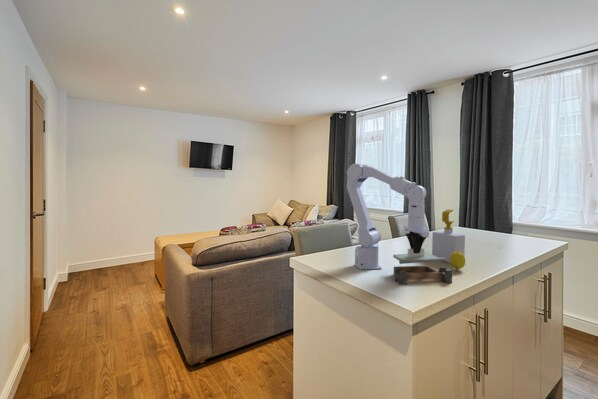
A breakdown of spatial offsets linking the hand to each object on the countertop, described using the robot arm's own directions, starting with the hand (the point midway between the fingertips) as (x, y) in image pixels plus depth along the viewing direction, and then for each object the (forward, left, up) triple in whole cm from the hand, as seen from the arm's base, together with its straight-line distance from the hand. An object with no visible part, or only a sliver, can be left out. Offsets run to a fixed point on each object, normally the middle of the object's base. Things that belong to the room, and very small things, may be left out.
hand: (415, 252), depth 107 cm
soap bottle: (+25, +19, -9) cm, 33 cm away
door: (0, 0, -3) cm, 3 cm away
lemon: (+20, +5, -9) cm, 23 cm away
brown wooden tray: (-1, -3, -9) cm, 10 cm away
